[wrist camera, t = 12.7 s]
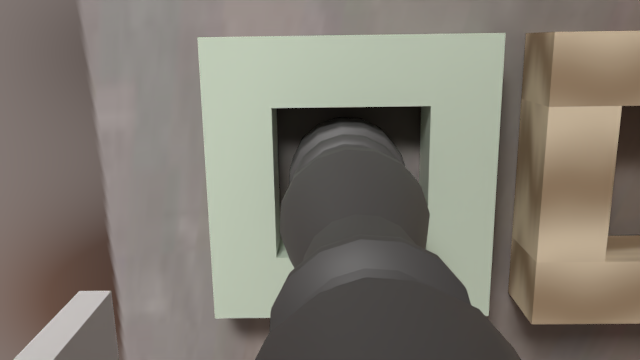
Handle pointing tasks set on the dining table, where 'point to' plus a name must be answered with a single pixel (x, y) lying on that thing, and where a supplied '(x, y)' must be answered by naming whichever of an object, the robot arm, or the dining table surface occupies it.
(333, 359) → the candle holder
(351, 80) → the green collar
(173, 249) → the dining table surface
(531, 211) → the birch collar
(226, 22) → the dining table surface
